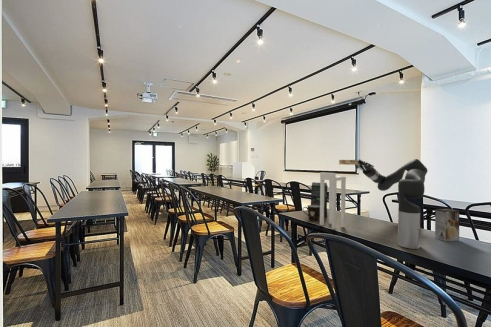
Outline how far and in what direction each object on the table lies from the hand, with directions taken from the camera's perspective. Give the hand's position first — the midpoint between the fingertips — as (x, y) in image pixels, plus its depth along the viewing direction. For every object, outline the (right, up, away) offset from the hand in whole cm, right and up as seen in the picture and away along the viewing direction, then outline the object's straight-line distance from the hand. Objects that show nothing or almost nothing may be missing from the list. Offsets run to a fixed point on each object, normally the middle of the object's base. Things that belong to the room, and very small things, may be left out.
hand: (357, 160), depth 173 cm
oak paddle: (-2, -3, -1) cm, 4 cm away
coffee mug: (-29, -42, +7) cm, 52 cm away
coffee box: (+33, -43, -35) cm, 65 cm away
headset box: (-19, -42, +26) cm, 53 cm away
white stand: (-21, -42, -10) cm, 48 cm away
